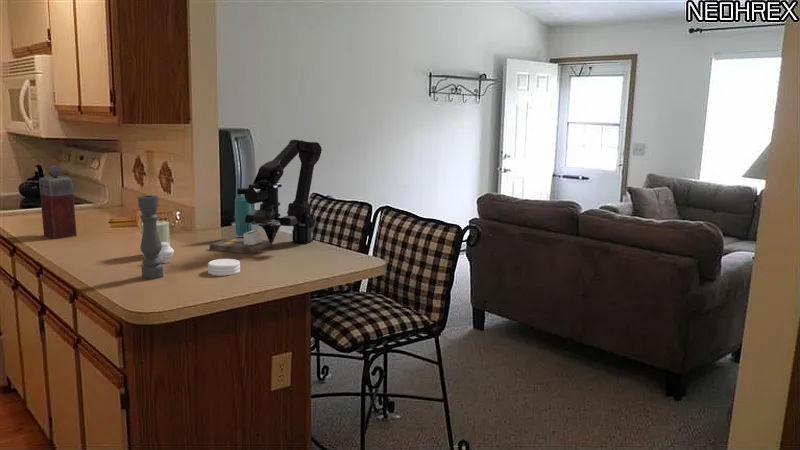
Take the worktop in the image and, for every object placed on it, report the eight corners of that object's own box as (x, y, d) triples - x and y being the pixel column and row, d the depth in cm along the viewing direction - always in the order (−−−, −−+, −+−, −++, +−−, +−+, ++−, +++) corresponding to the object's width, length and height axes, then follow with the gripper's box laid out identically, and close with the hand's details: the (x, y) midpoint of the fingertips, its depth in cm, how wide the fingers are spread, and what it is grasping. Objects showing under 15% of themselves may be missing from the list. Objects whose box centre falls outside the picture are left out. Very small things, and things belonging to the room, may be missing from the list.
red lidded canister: (63, 232, 266) (57, 164, 261) (77, 235, 260) (71, 166, 254) (40, 235, 259) (34, 165, 254) (54, 239, 253) (47, 167, 248)
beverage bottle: (248, 240, 256) (246, 189, 252) (232, 239, 257) (230, 189, 253) (255, 236, 262) (253, 187, 258) (239, 236, 263) (238, 187, 260)
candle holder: (145, 274, 204) (140, 195, 199) (165, 273, 204) (161, 195, 200) (139, 279, 198) (134, 198, 193) (160, 279, 198) (155, 198, 194)
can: (176, 253, 232) (174, 220, 230) (159, 259, 223) (157, 224, 221) (155, 251, 235) (153, 218, 233) (137, 256, 226) (135, 223, 224)
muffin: (156, 264, 216) (155, 244, 214) (154, 260, 221) (153, 240, 220) (176, 262, 218) (175, 242, 217) (173, 259, 224) (172, 239, 222)
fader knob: (262, 241, 242) (261, 231, 241) (253, 245, 236) (253, 234, 236) (252, 240, 243) (252, 230, 243) (243, 244, 238) (243, 233, 237)
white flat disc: (210, 277, 201) (209, 266, 201) (206, 270, 210) (205, 259, 210) (242, 274, 205) (242, 264, 205) (237, 267, 214) (237, 257, 214)
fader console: (272, 246, 246) (272, 240, 245) (252, 253, 232) (252, 248, 232) (231, 242, 251) (231, 237, 251) (209, 249, 238) (209, 244, 238)
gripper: (235, 202, 230) (236, 245, 233) (282, 205, 224) (283, 249, 227) (252, 197, 240) (253, 239, 243) (297, 200, 234) (298, 243, 237)
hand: (271, 242), depth 237 cm, fingers closed
